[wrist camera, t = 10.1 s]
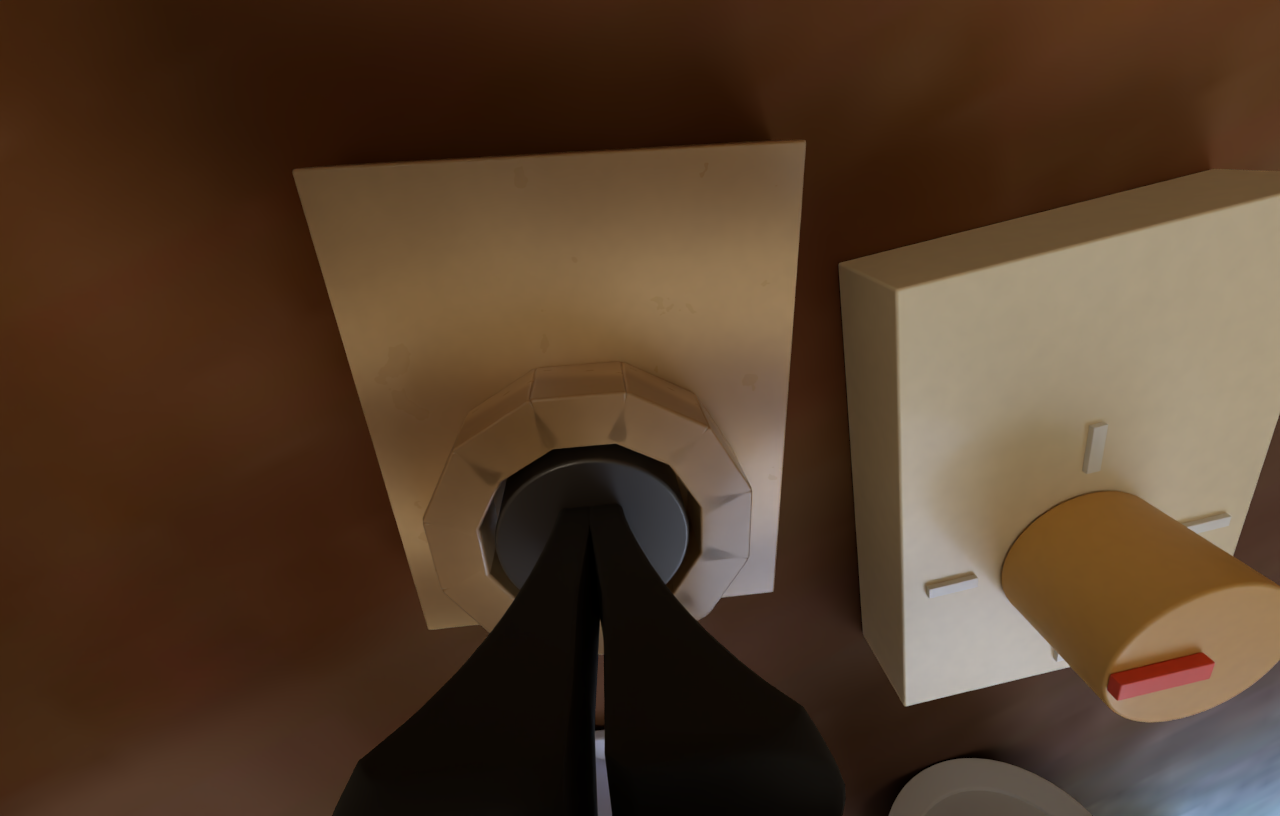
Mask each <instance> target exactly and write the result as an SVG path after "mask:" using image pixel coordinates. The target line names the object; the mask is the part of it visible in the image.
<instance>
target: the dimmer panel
mask: <svg viewBox="0 0 1280 816" xmlns="http://www.w3.org/2000/svg"><path fill="white" fill-rule="evenodd" d="M838 267H839V282H840V297H841V312H842V327H843V342H844V357H845V372H846V387H847V403H848V418H849V433H850V448H851V463H852V478H853V493H854V508H855V523H856V538H857V553H858V568H859V584H860V599H861V614H862V629H863V635H864V637H865V639H866V641H867V642H868V644H869V646H870V648H871V649H872V651H873V653H874V655H875V656H876V658H877V660H878V662H879V663H880V665H881V667H882V668H883V670H884V672H885V674H886V675H887V677H888V679H889V681H890V682H891V684H892V686H893V688H894V689H895V691H896V693H897V695H898V696H899V698H900V700H901V701H902V703H903V705H904V706H910V705H914V704H918V703H922V702H927V701H931V700H935V699H939V698H943V697H947V696H951V695H956V694H960V693H964V692H968V691H972V690H976V689H980V688H985V687H989V686H993V685H997V684H1001V683H1005V682H1009V681H1014V680H1018V679H1022V678H1026V677H1030V676H1034V675H1039V674H1043V673H1047V672H1051V671H1055V670H1059V669H1063V668H1068V667H1070V666H1069V665H1068V663H1067V662H1066V661H1065V660H1064V659H1063V658H1062V657H1061V656H1060V655H1059V654H1058V653H1057V652H1056V651H1055V650H1054V649H1053V647H1052V646H1051V645H1050V644H1049V643H1048V642H1047V641H1046V640H1045V639H1044V638H1043V637H1042V636H1041V635H1040V634H1039V633H1038V631H1037V630H1036V629H1035V628H1034V627H1033V626H1032V625H1031V624H1030V623H1029V622H1028V621H1027V620H1026V619H1025V618H1024V617H1023V615H1022V614H1021V613H1020V612H1019V611H1018V610H1017V609H1016V608H1015V607H1014V606H1013V605H1012V604H1011V603H1010V601H1009V600H1008V599H1007V597H1006V595H1005V593H1004V590H1003V586H1002V569H1003V565H1004V562H1005V559H1006V557H1007V555H1008V553H1009V550H1010V549H1011V547H1012V546H1013V544H1014V543H1015V541H1016V540H1017V539H1018V537H1019V536H1020V535H1021V534H1022V533H1023V532H1024V531H1025V530H1026V528H1027V527H1028V526H1030V525H1031V524H1032V523H1033V522H1034V521H1035V520H1036V519H1038V518H1039V517H1040V516H1042V515H1043V514H1045V513H1046V512H1048V511H1049V510H1051V509H1052V508H1054V507H1056V506H1058V505H1060V504H1062V503H1064V502H1066V501H1068V500H1070V499H1073V498H1076V497H1078V496H1082V495H1085V494H1089V493H1094V492H1102V491H1118V492H1124V493H1129V494H1132V495H1135V496H1138V497H1139V498H1141V499H1143V500H1145V501H1146V502H1148V503H1149V504H1151V505H1152V506H1154V507H1156V508H1157V509H1159V510H1160V511H1162V512H1164V513H1165V514H1167V515H1168V516H1170V517H1171V518H1173V519H1175V520H1176V521H1178V522H1179V523H1181V524H1183V525H1184V526H1186V527H1187V528H1189V529H1190V530H1192V531H1194V532H1195V533H1197V534H1198V535H1200V536H1202V537H1203V538H1205V539H1206V540H1208V541H1209V542H1211V543H1213V544H1214V545H1216V546H1217V547H1219V548H1221V549H1222V550H1224V551H1225V552H1227V553H1228V554H1230V555H1232V556H1233V554H1234V551H1235V548H1236V545H1237V542H1238V539H1239V536H1240V533H1241V530H1242V527H1243V524H1244V521H1245V518H1246V515H1247V512H1248V509H1249V505H1250V502H1251V499H1252V496H1253V493H1254V490H1255V487H1256V484H1257V481H1258V478H1259V475H1260V472H1261V469H1262V466H1263V463H1264V460H1265V457H1266V454H1267V451H1268V448H1269V444H1270V441H1271V438H1272V435H1273V432H1274V429H1275V426H1276V423H1277V420H1278V417H1279V414H1280V171H1258V170H1232V169H1211V170H1207V171H1203V172H1199V173H1195V174H1191V175H1187V176H1183V177H1179V178H1175V179H1171V180H1167V181H1163V182H1159V183H1155V184H1151V185H1147V186H1144V187H1140V188H1136V189H1132V190H1128V191H1124V192H1120V193H1116V194H1112V195H1108V196H1104V197H1100V198H1096V199H1092V200H1088V201H1084V202H1080V203H1076V204H1072V205H1068V206H1064V207H1060V208H1056V209H1052V210H1048V211H1044V212H1040V213H1036V214H1032V215H1028V216H1024V217H1020V218H1016V219H1012V220H1008V221H1004V222H1000V223H996V224H992V225H988V226H984V227H980V228H976V229H972V230H968V231H964V232H960V233H956V234H952V235H948V236H944V237H940V238H936V239H932V240H928V241H925V242H921V243H917V244H913V245H909V246H905V247H901V248H897V249H893V250H889V251H885V252H881V253H877V254H873V255H869V256H865V257H861V258H857V259H853V260H849V261H845V262H841V263H839V265H838Z"/></svg>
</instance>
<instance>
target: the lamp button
mask: <svg viewBox="0 0 1280 816" xmlns="http://www.w3.org/2000/svg"><path fill="white" fill-rule="evenodd" d="M616 503H618V504H619V505H620V506H621V507H623V512H624V515H625V517H626V520H627V522H628V524H629V527H630V529H631V531H632V533H633V535H634V537H635V538H636V540H637V542H638V544H639V546H640V547H641V549H642V550H643V552H644V554H645V555H646V557H647V558H648V560H649V562H650V563H651V565H652V566H653V568H654V569H655V571H656V572H657V573H658V575H659V576H660V578H661V579H662V580H663V582H664V583H665V584H667V583H668V582H669V581H670V580H671V579H672V577H673V576H674V575H675V573H676V572H677V570H678V569H679V567H680V565H681V563H682V561H683V559H684V556H685V554H686V551H687V547H688V542H689V521H688V517H687V514H686V510H685V506H684V503H683V499H682V496H681V492H680V489H679V485H678V482H677V478H676V475H675V472H674V471H673V469H672V468H671V467H670V465H668V464H666V463H663V462H661V461H658V460H656V459H653V458H651V457H648V456H646V455H643V454H641V453H638V452H636V451H633V450H631V449H628V448H625V447H623V446H620V445H618V444H606V445H595V446H584V447H573V448H562V449H552V450H551V451H549V452H548V453H546V454H545V455H543V456H541V457H540V458H538V459H537V460H535V461H533V462H532V463H530V464H529V465H527V466H526V467H524V468H522V469H521V470H519V471H518V472H516V473H514V474H513V475H511V476H510V477H508V478H507V481H506V485H505V489H504V494H503V498H502V503H501V507H500V512H499V516H498V521H497V525H496V530H495V545H496V552H497V555H498V559H499V561H500V564H501V566H502V568H503V570H504V572H505V573H506V575H507V576H508V578H509V579H510V581H511V582H512V583H513V584H514V585H515V586H516V587H517V588H518V589H519V590H520V589H521V588H522V586H523V585H524V583H525V581H526V580H527V578H528V577H529V575H530V573H531V571H532V570H533V568H534V566H535V564H536V562H537V560H538V558H539V557H540V555H541V553H542V551H543V549H544V547H545V545H546V543H547V541H548V539H549V536H550V534H551V532H552V530H553V527H554V525H555V522H556V519H557V516H558V513H559V512H560V511H561V510H562V509H565V508H576V507H586V506H596V505H606V504H616Z"/></svg>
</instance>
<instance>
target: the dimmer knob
mask: <svg viewBox="0 0 1280 816" xmlns="http://www.w3.org/2000/svg"><path fill="white" fill-rule="evenodd" d="M1002 586H1003V590H1004V593H1005V595H1006V597H1007V599H1008V600H1009V601H1010V603H1011V604H1012V605H1013V606H1014V607H1015V608H1016V609H1017V610H1018V611H1019V612H1020V613H1021V614H1022V615H1023V617H1024V618H1025V619H1026V620H1027V621H1028V622H1029V623H1030V624H1031V625H1032V626H1033V627H1034V628H1035V629H1036V630H1037V631H1038V633H1039V634H1040V635H1041V636H1042V637H1043V638H1044V639H1045V640H1046V641H1047V642H1048V643H1049V644H1050V645H1051V646H1052V647H1053V649H1054V650H1055V651H1056V652H1057V653H1058V654H1059V655H1060V656H1061V657H1062V658H1063V659H1064V660H1065V661H1066V662H1067V663H1068V665H1069V666H1070V667H1071V668H1072V669H1073V670H1074V671H1075V672H1076V673H1077V674H1078V675H1079V676H1080V677H1081V678H1082V679H1083V681H1084V682H1085V683H1086V684H1087V685H1088V686H1089V687H1090V688H1091V689H1092V690H1093V691H1094V692H1095V693H1096V694H1097V695H1098V697H1099V698H1100V699H1101V700H1102V701H1103V702H1104V703H1105V704H1106V705H1107V706H1108V707H1109V708H1110V709H1111V710H1112V711H1113V712H1115V713H1117V714H1118V715H1120V716H1122V717H1124V718H1127V719H1130V720H1134V721H1139V722H1163V721H1170V720H1175V719H1180V718H1184V717H1188V716H1191V715H1194V714H1197V713H1200V712H1203V711H1205V710H1208V709H1210V708H1212V707H1215V706H1217V705H1219V704H1221V703H1223V702H1225V701H1227V700H1229V699H1231V698H1232V697H1234V696H1236V695H1238V694H1239V693H1241V692H1242V691H1244V690H1245V689H1247V688H1248V687H1250V686H1251V685H1252V684H1254V683H1255V682H1256V681H1258V680H1259V679H1260V678H1261V677H1262V676H1264V675H1265V674H1266V673H1267V672H1268V671H1269V670H1270V669H1271V668H1272V667H1273V666H1274V665H1275V664H1276V663H1277V662H1278V661H1279V660H1280V586H1279V585H1277V584H1276V583H1274V582H1273V581H1271V580H1270V579H1268V578H1266V577H1265V576H1263V575H1262V574H1260V573H1259V572H1257V571H1255V570H1254V569H1252V568H1251V567H1249V566H1247V565H1246V564H1244V563H1243V562H1241V561H1240V560H1238V559H1236V558H1235V557H1233V556H1232V555H1230V554H1228V553H1227V552H1225V551H1224V550H1222V549H1221V548H1219V547H1217V546H1216V545H1214V544H1213V543H1211V542H1209V541H1208V540H1206V539H1205V538H1203V537H1202V536H1200V535H1198V534H1197V533H1195V532H1194V531H1192V530H1190V529H1189V528H1187V527H1186V526H1184V525H1183V524H1181V523H1179V522H1178V521H1176V520H1175V519H1173V518H1171V517H1170V516H1168V515H1167V514H1165V513H1164V512H1162V511H1160V510H1159V509H1157V508H1156V507H1154V506H1152V505H1151V504H1149V503H1148V502H1146V501H1145V500H1143V499H1141V498H1139V497H1138V496H1135V495H1132V494H1129V493H1124V492H1118V491H1102V492H1094V493H1089V494H1085V495H1082V496H1078V497H1076V498H1073V499H1070V500H1068V501H1066V502H1064V503H1062V504H1060V505H1058V506H1056V507H1054V508H1052V509H1051V510H1049V511H1048V512H1046V513H1045V514H1043V515H1042V516H1040V517H1039V518H1038V519H1036V520H1035V521H1034V522H1033V523H1032V524H1031V525H1030V526H1028V527H1027V528H1026V530H1025V531H1024V532H1023V533H1022V534H1021V535H1020V536H1019V537H1018V539H1017V540H1016V541H1015V543H1014V544H1013V546H1012V547H1011V549H1010V550H1009V553H1008V555H1007V557H1006V559H1005V562H1004V565H1003V569H1002Z"/></svg>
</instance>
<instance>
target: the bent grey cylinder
mask: <svg viewBox="0 0 1280 816" xmlns="http://www.w3.org/2000/svg"><path fill="white" fill-rule="evenodd" d="M889 816H1093V815H1092V814H1091V813H1090V812H1088V811H1087V810H1086V809H1085V808H1084V807H1083V806H1082V805H1081V804H1080V803H1079V802H1077V801H1076V800H1075V799H1074V798H1072V797H1071V796H1070V795H1068V794H1067V793H1066V792H1064V791H1063V790H1061V789H1060V788H1058V787H1057V786H1055V785H1054V784H1052V783H1051V782H1049V781H1047V780H1045V779H1043V778H1042V777H1040V776H1038V775H1036V774H1034V773H1032V772H1029V771H1027V770H1025V769H1022V768H1020V767H1017V766H1014V765H1011V764H1007V763H1004V762H1000V761H995V760H990V759H980V758H960V759H954V760H948V761H944V762H941V763H938V764H935V765H933V766H931V767H929V768H927V769H925V770H923V771H922V772H920V773H919V774H917V775H916V776H914V777H913V778H912V779H911V780H910V781H909V782H908V783H907V784H906V785H905V786H904V788H903V789H902V790H901V792H900V793H899V794H898V796H897V798H896V800H895V801H894V803H893V805H892V808H891V810H890V813H889Z"/></svg>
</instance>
